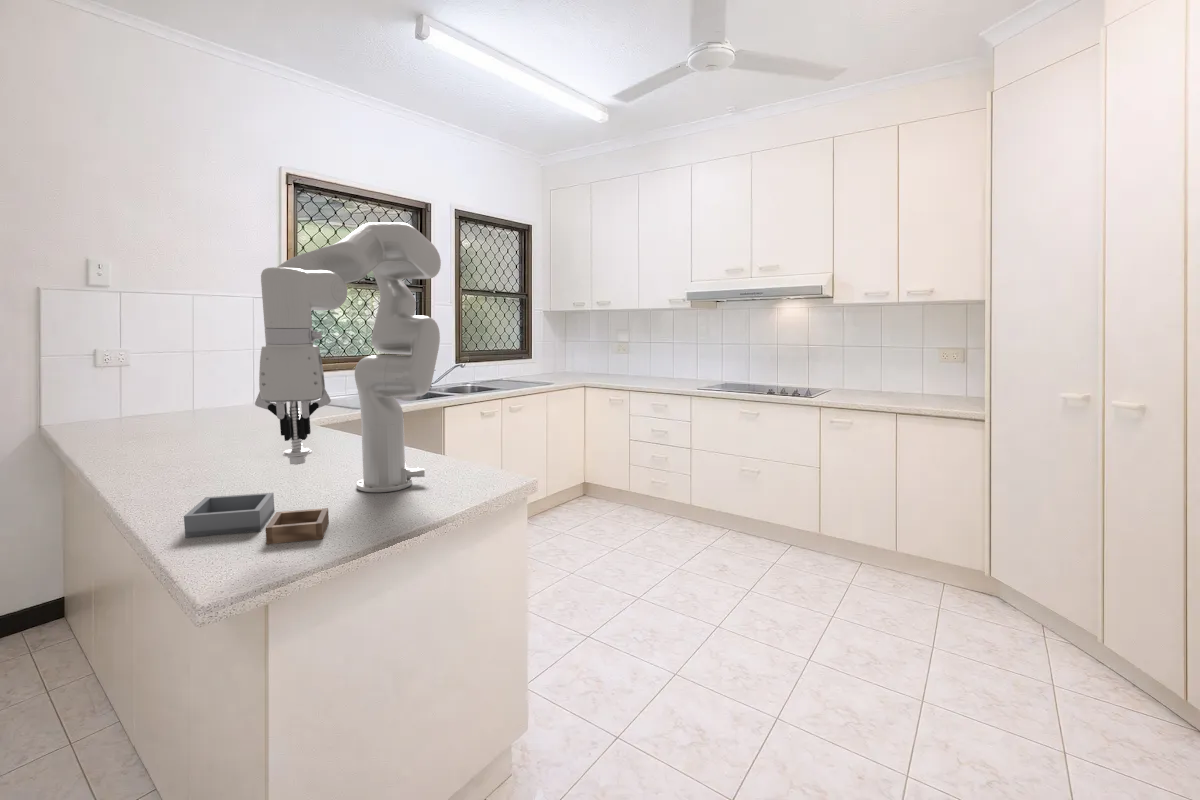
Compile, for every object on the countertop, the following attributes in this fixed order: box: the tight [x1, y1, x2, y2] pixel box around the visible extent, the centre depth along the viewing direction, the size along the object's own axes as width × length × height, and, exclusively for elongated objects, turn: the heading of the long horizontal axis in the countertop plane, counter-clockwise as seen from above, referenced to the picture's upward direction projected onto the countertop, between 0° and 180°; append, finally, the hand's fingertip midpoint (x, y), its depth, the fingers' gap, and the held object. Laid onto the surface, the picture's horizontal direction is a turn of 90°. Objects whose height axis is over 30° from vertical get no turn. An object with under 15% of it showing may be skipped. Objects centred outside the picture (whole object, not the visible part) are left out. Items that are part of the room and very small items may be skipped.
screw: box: [281, 401, 313, 466], centre depth 104 cm, size 13×5×5 cm
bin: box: [183, 492, 275, 539], centre depth 111 cm, size 12×12×4 cm
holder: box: [265, 507, 330, 545], centre depth 106 cm, size 9×9×3 cm
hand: (296, 438), depth 105 cm, fingers closed on screw, 2 cm apart
